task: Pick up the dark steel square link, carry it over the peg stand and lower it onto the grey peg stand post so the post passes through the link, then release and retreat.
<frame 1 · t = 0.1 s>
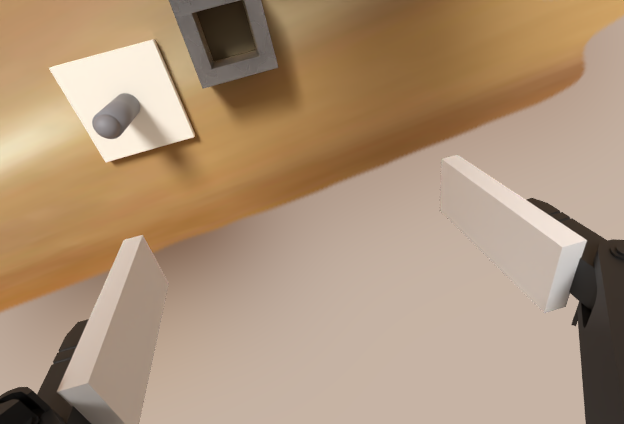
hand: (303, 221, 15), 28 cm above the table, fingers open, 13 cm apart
peg stand: (129, 102, 37), on the table
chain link: (227, 31, 35), on the table
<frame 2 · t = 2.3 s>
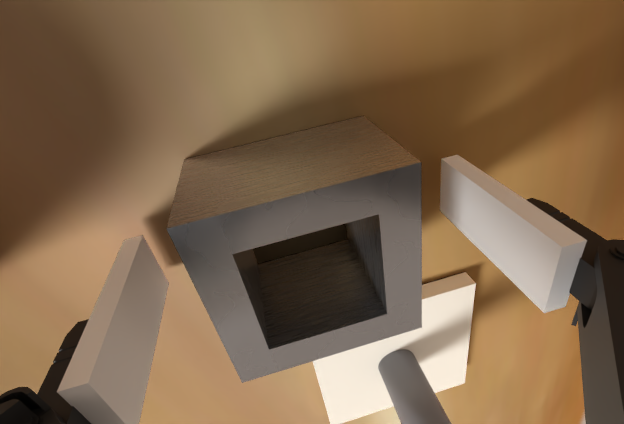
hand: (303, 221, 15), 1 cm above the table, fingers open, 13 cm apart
peg stand: (389, 349, 23), on the table
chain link: (294, 213, 16), on the table
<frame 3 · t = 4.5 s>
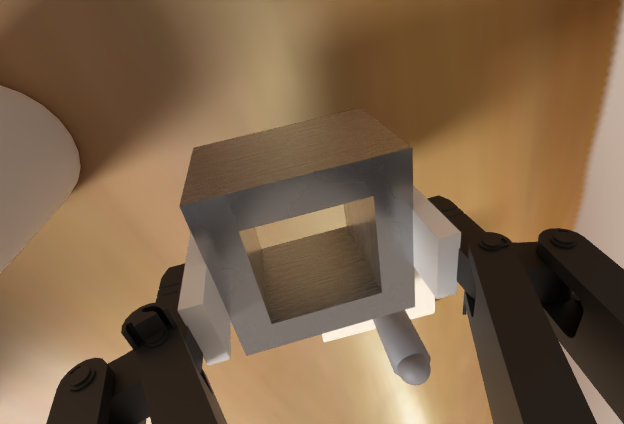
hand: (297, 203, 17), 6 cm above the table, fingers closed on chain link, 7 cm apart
cup: (4, 168, 19), on the table
peg stand: (371, 278, 28), on the table
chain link: (296, 200, 17), point 6 cm above the table, touching gripper
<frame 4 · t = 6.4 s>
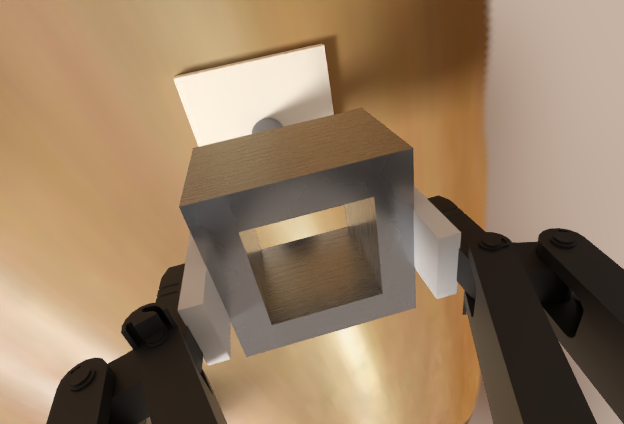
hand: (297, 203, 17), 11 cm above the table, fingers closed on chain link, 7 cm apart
peg stand: (267, 130, 26), on the table
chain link: (296, 200, 17), point 11 cm above the table, touching gripper
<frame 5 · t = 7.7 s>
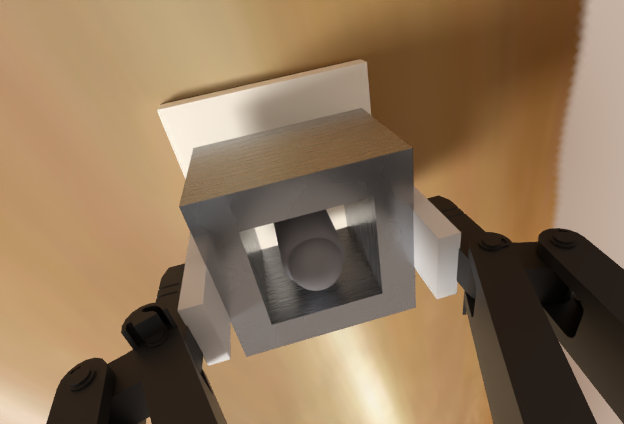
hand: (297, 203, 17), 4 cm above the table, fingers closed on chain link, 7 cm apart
peg stand: (284, 172, 20), on the table
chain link: (296, 200, 17), point 3 cm above the table, touching gripper
when the fingers open (3 cm above the table, at t = 8.6 s): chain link drops 2 cm, resting on peg stand.
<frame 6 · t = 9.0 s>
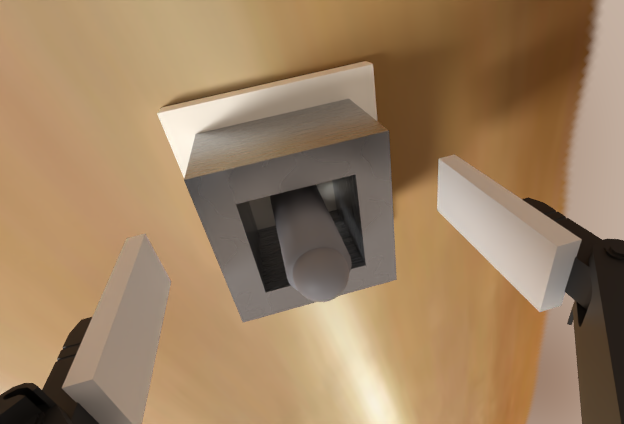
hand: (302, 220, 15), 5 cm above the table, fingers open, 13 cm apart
peg stand: (287, 176, 19), on the table
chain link: (289, 184, 18), point 1 cm above the table, touching peg stand
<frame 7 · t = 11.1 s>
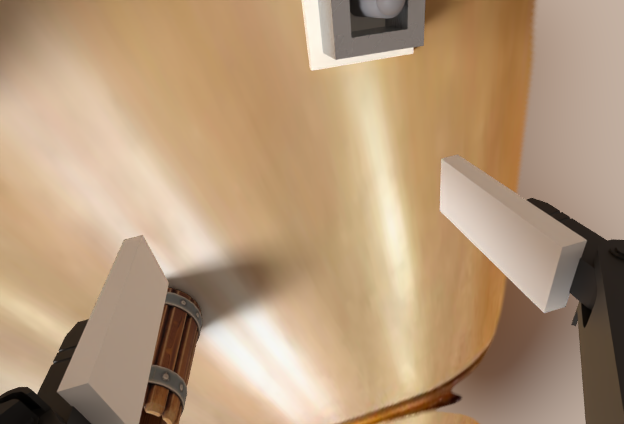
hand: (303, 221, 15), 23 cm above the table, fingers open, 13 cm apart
mug: (149, 324, 46), on the table
peg stand: (357, 1, 31), on the table
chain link: (359, 0, 31), point 1 cm above the table, touching peg stand
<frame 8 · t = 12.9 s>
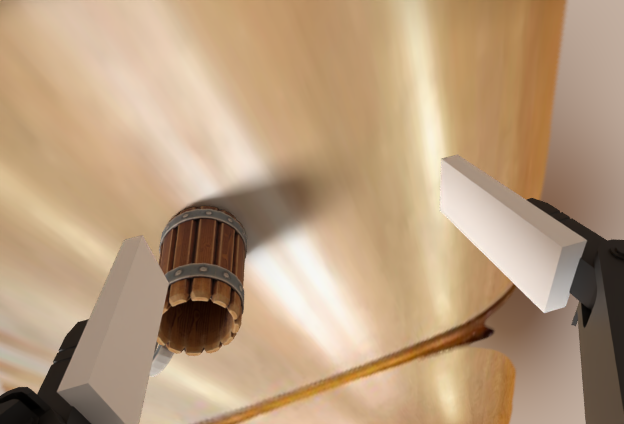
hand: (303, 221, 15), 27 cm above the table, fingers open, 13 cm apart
mug: (194, 250, 47), on the table
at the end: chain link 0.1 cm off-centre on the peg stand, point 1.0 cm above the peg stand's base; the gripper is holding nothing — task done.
